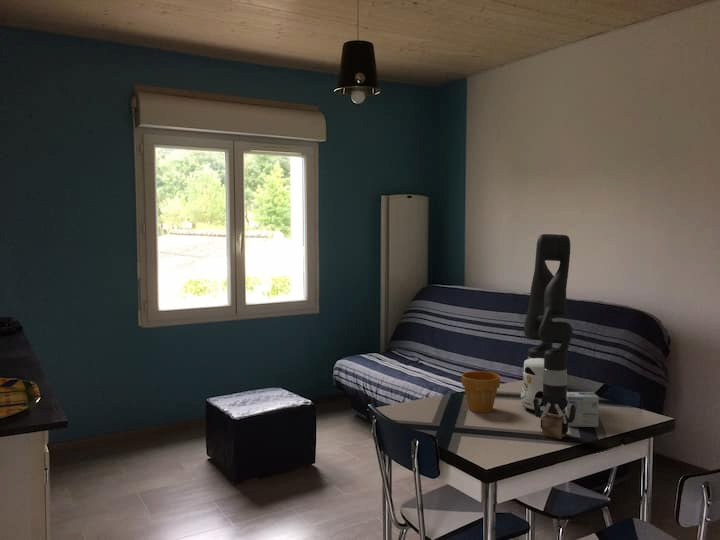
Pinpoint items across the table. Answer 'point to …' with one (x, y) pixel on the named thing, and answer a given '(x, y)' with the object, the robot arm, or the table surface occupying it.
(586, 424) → the light bulb box
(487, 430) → the table surface
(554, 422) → the walnut block
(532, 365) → the milk container
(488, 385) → the flower pot
